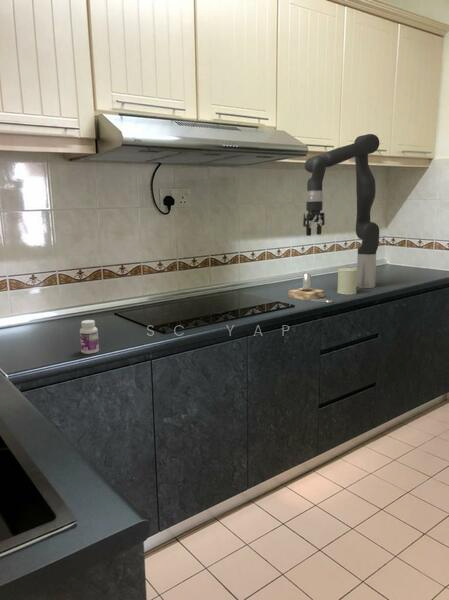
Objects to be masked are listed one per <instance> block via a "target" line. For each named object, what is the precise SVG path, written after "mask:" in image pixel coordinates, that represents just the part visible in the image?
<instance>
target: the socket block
mask: <svg viewBox="0 0 449 600" xmlns="http://www.w3.org/2000/svg"><path fill="white" fill-rule="evenodd" d="M287 293H288V298H290V299H291V298H292V299H296V300H298V299H299V300H304V301H310V298H318V299H322V298H324V297H325V290H324V289H319V288H311V291H310V292H304V291H303V287H300V288H295V289H291V290H287Z"/></svg>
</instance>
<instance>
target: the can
mask: <svg viewBox="0 0 449 600" xmlns="http://www.w3.org/2000/svg"><path fill="white" fill-rule="evenodd" d="M356 285H357V268H352V267H341V268H338V269H337V291H336V293H337V294H339V295H340V294H341V295H347V296H348V295H355V294H357V287H356Z"/></svg>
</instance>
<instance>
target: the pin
mask: <svg viewBox="0 0 449 600" xmlns="http://www.w3.org/2000/svg"><path fill="white" fill-rule="evenodd" d="M311 280H312V274H311V273H310V272H308V273H307V272H304V273H302V288H303V291H304V292H310V291H311V289H312V287H311V284H312V283H311V282H312V281H311Z"/></svg>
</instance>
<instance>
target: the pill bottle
mask: <svg viewBox="0 0 449 600" xmlns="http://www.w3.org/2000/svg"><path fill="white" fill-rule="evenodd" d="M80 324H81V328H80V329H79V339H80V340H79V341H80V351H81V353H82V354H85V355H86V354H87V355H90V354H95V353H98V352H99V351H100V345H99V330H98V327H96V321H95V320H94V319H85V320H82V321H81V323H80Z"/></svg>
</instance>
